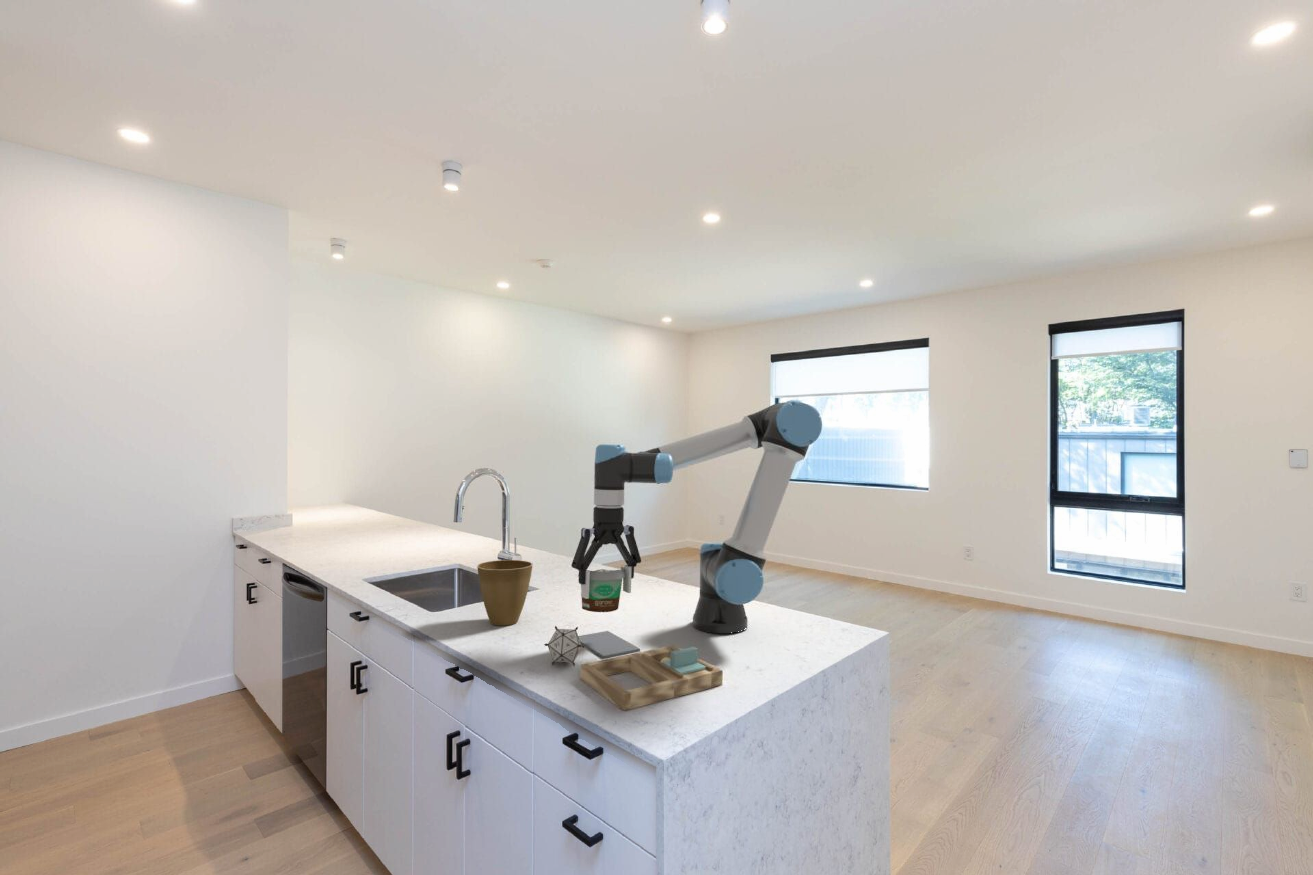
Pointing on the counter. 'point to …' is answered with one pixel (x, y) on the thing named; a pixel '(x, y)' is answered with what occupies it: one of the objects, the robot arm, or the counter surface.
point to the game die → (564, 645)
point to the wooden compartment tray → (647, 678)
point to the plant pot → (504, 589)
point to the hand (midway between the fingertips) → (606, 594)
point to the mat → (607, 644)
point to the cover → (684, 661)
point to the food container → (604, 590)
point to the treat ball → (665, 660)
